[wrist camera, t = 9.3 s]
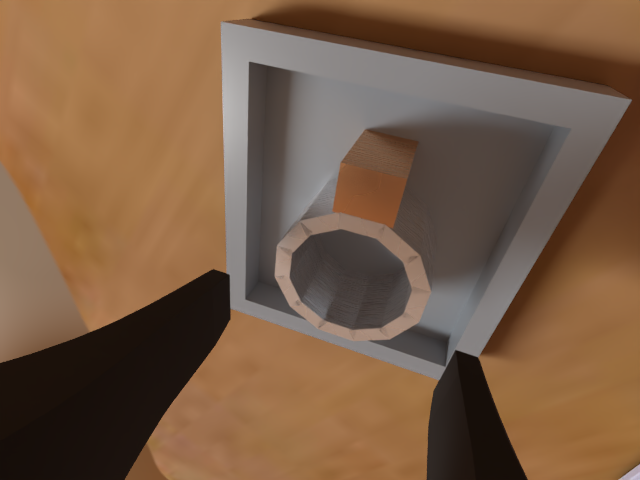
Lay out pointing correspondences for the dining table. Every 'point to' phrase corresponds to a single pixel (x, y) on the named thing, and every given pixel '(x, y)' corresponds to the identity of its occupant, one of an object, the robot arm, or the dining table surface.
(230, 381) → the dining table surface
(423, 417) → the dining table surface
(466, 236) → the tray
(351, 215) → the ring
